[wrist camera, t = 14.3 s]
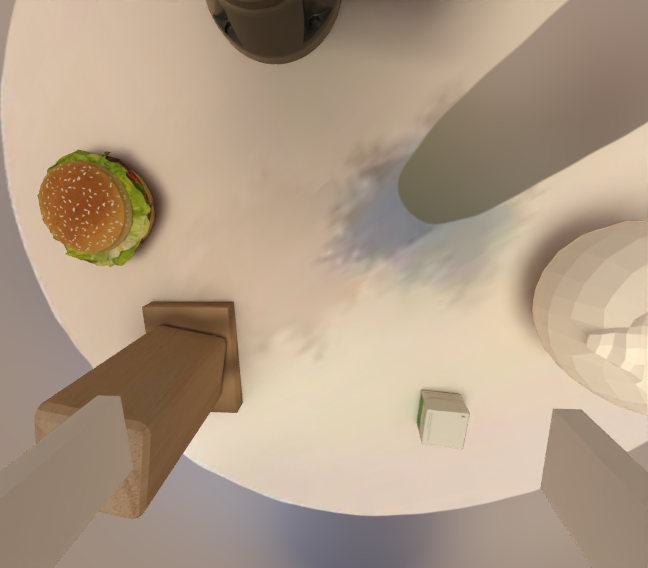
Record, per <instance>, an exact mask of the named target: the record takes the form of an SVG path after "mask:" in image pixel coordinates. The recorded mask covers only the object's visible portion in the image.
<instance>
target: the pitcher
mask: <svg viewBox="0 0 648 568" xmlns="http://www.w3.org/2000/svg"><path fill="white" fill-rule="evenodd" d="M532 313H533V319H534V325H535V328H536V330H537V333H538V335H539V338H540V340H541V342H542V344H543V346H544V349H545V350H546V351H547V352H548V354H549V355H550V356H551V357H552V358H553V360H554V361H555V362H556V363H557V365H558V366H559V367H561V368H562V369H563V370H564V371H565V372H566V373H567V374H568V375H569V376H570V377H571V378H572V379H573V380H575V381H576V382H578V383H579V384H581V385H582V386H584V387H585V388H587V389H588V390H590V391H591V392H593V393H594V394H596V395H598V396H600V397H602V398H604V399H605V400H607V401H609V402H611V403H613V404H615V405H617V406H619V407H622V408H625V409H628V410H630V411H633V412H637V413H640V414H644V415H647V416H648V221H624V222H621V223H618V224H614V225H611V226H607V227H604V228H600V229H597V230H594V231H591V232H589V233H586V234H583V235H581V236H580V237H578V238H577V239H575V240H574V241H572V242H571V243H570V244H568V245H567V246H565V247H564V248H562V249H561V250H559V251H558V253H557V254H556V255H555V256H554V258H553V259H552V260H551V261H550V263H549V264H548V265H547V266H546V268H545V269H544V270H543V273H542V275H541V277H540V279H539V281H538V284H537V286H536V289H535V294H534V299H533V308H532Z"/></svg>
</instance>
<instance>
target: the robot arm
mask: <svg viewBox="0 0 648 568" xmlns="http://www.w3.org/2000/svg"><path fill="white" fill-rule="evenodd" d="M206 2H207V5H208V8H209V10H210V12H211V15H212V17H213V19H214V21H215V23H216V24H217V26H218V27H219V29H220V30H221V32H222V33H223V34H224V35H225V37H226V38H227V39H228V40H229V41H230V43H231V44H232V45H233V46H234V47H235V48H236V49H238V50H239V51H240V52H241V53H243V54H244V55H246V56H248V57H250V58H252V59H254V60H256V61H259V62H263V63H269V64H282V63H288V62H292V61H295V60H297V59H300V58H302V57H303V56H305V55H307V54H308V53H310V52H311V51H312V50H314V49H315V48H316V47H317V46H318V45H319V44H320V43H321V42H322V41H323V39H324V38H325V37H326V35H327V34H328V33H329V31H330V29H331V27H332V25H333V24H334V21H335V19H336V16H337V14H338V10H339V7H340V2H341V0H206ZM133 469H134V468H133V463H132V457H131V452H130V446H129V441H128V435H127V430H126V424H125V419H124V413H123V408H122V402H121V397H120V396H101V395H98V396H96V397H95V398H94V399H92V400H91V401H90V402H89V403H87V404H86V405H85V406H84V407H82V408H81V409H80V410H78V411H77V412H76V413H75V414H73V415H72V416H71V417H69V418H68V419H67V420H66V421H64V422H63V423H62V424H61V425H59V426H58V427H57V428H55V429H54V430H53V431H52V432H50V433H49V434H48V435H46V436H45V437H44V438H43V439H41V440H40V441H39V442H38V443H36V444H35V445H34V446H32V447H31V448H30V449H29V450H27V451H26V452H25V453H23V455H21V456H20V457H19V458H17V459H16V460H15V461H13V462H12V463H11V464H10V465H8V466H7V467H6V468H4V469H3V470H2V471H1V472H0V568H54V567H55V566H56V565H57V563H58V562H59V561H60V559H61V558H62V557H63V555H65V553H66V552H67V551H68V550H69V548H70V547H71V546H72V544H73V543H74V542H75V541H76V540H77V538H78V537H79V536H80V534H81V533H82V532H83V531H84V530H85V528H86V527H87V526H88V525H89V523H90V522H91V521H92V520H93V519H94V517H95V516H96V515H97V513H98V512H99V511H100V510H101V509H102V507H103V506H104V505H105V504H106V502H107V501H108V500H109V499H110V497H111V496H112V495H113V494H114V492H115V491H116V490H117V489H118V487H119V486H120V485H121V484H122V482H123V481H124V480H125V479H126V477H127V476H128V475H129V474H130V473H131V471H132V470H133ZM541 490H542V491H543V493H544V494H545V496H546V497H547V499H548V501H549V502H550V504H551V505H552V507H553V508H554V510H555V512H556V513H557V515H558V516H559V518H560V519H561V521H562V522H563V524H564V526H565V527H566V529H567V530H568V532H569V533H570V535H571V537H572V538H573V539H574V541H575V543H576V545H577V546H578V548H579V549H580V551H581V552H582V554H583V556H584V557H585V559H586V560H587V562H588V563H589V565H590V566H591V568H648V472H647V471H646V470H645V469H644V468H643V467H642V466H641V465H640V464H638V462H636V461H635V460H634V459H633V458H632V457H631V456H630V455H629V454H628V453H627V452H626V451H625V450H624V449H623V448H622V447H621V446H619V445H618V444H617V443H616V442H615V441H614V440H613V439H612V438H611V437H610V436H609V435H608V434H607V433H606V432H605V431H604V430H602V429H601V428H600V427H599V426H598V425H597V424H596V423H595V422H594V421H593V420H592V419H591V418H590V417H589V416H588V415H587V414H585V413H584V412H583V411H582V410H580V409H553V412H552V419H551V425H550V431H549V438H548V444H547V450H546V456H545V463H544V469H543V475H542V482H541Z"/></svg>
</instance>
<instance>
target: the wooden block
mask: <svg viewBox="0 0 648 568" xmlns="http://www.w3.org/2000/svg"><path fill="white" fill-rule="evenodd" d="M225 349H226V343H225V339H223V338H221V337H216V336H211V335H206V334H202V333H197V332H192V331H187V330H182V329H177V328H172V327H167V326H158V327H155V328H154V329H152V330H151V331H149V332H148V333H146V334H145V335H143V336H142V337H140V338H139V339H137V340H136V341H135V342H133V343H132V344H130V345H129V346H127V347H126V348H124V349H123V350H121V351H120V352H118V353H117V354H115V355H114V356H112V357H111V358H109V359H108V360H106V361H105V362H103V363H102V364H100V365H99V366H97V367H96V368H94V369H93V370H91V371H90V372H88V373H87V374H85V375H84V376H82V377H81V378H79V379H78V380H77V381H75V382H73V383H72V384H70V385H69V386H67V387H66V388H64V389H63V390H61V391H60V392H58V393H57V394H55V395H54V396H52V397H51V398H49V399H48V400H46V401H45V402H43V403H42V404H41V405H40V406H39V408H38V409H37V411H36V413H35V438H36V443H38V442H39V441H40V440H41V439H43V438H44V437H45V436H46V435H48V434H49V433H50V432H52V431H53V430H54V429H55V428H57V427H58V426H59V425H61V424H62V423H63V422H64V421H66V420H67V419H68V418H69V417H71V416H72V415H73V414H75V413H76V412H77V411H78V410H80V409H81V408H82V407H84V406H85V405H86V404H87V403H89V402H90V401H91V400H92V399H94V398H95V397H96V396H98V395H101V396H120V397H121V402H122V408H123V413H124V419H125V424H126V430H127V435H128V441H129V446H130V452H131V457H132V463H133V468H134V469H133V470H132V471H131V473H130V474H129V475H128V476H127V477H126V479H125V480H124V481H123V482H122V484H121V485H120V486H119V487H118V489H117V490H116V491H115V492H114V494H113V495H112V496H111V497H110V499H109V500H108V501H107V502H106V504H105V505H104V506H103V507H102V509H101V510H100V511H99V512H103V513H106V514H111V515H115V516H120V517H124V518H129V519H134V518H138V517H139V516H141V515H142V514H143V513H144V511H145V510H146V508H147V507H148V505H149V504H150V502H151V501H152V499H153V498H154V496H155V495H156V493H157V492H158V490H159V489H160V487H161V486H162V484H163V483H164V481H165V480H166V478H167V477H168V475H169V474H170V472H171V470H172V469H173V468H174V466H175V465H176V463H177V462H178V460H179V458H180V457H181V455H182V454H183V452H184V451H185V449H186V448H187V446H188V445H189V443H190V442H191V440H192V439H193V437H194V436H195V434H196V433H197V431H198V430H199V428H200V427H201V425H202V424H203V422H204V421H205V419H206V418H207V416H208V415H209V413H210V412H211V410H212V409H213V407H214V406H215V404H216V403H217V401H218V399H219V398H220V392H221V383H222V374H223V366H224V357H225Z"/></svg>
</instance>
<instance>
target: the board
mask: <svg viewBox="0 0 648 568" xmlns="http://www.w3.org/2000/svg"><path fill="white" fill-rule="evenodd" d="M142 310H143V316H144V323H145V329H146V333H148V332H149V331H151V330H152V329H154V328H155V327H158V326H167V327H172V328H177V329H182V330H187V331H192V332H197V333H202V334H206V335H211V336H216V337H221V338H223V339H225V343H226V349H225V357H224V366H223V374H222V383H221V392H220V398H219V399H218V401H217V403H216V404H215V406H214V407H213V409H212V410H211V412H229V413H237V412H238V410H239V408H240V406H241V405H242V393H241V381H240V370H239V358H238V347H237V335H236V324H235V312H234V302H151V303H149V304H147V305H145V306H143V307H142Z"/></svg>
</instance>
